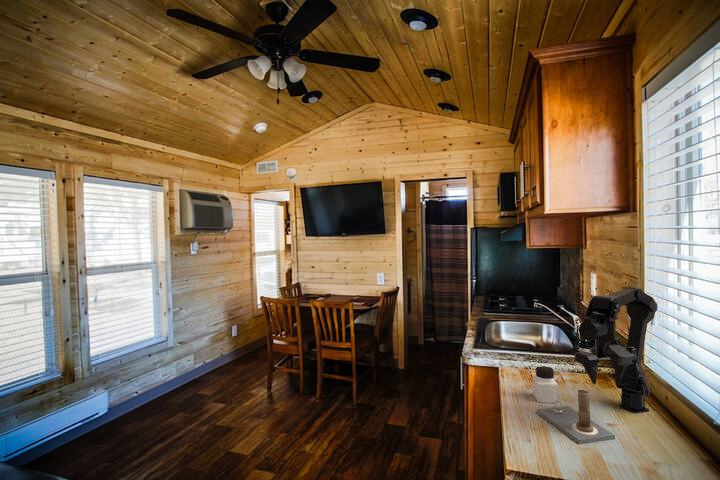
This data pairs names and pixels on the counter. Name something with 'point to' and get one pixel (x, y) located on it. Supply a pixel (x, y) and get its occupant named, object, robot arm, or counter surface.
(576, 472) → the counter surface
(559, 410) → the steel pin
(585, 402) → the walnut peg
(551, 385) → the medicine bottle
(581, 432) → the board
